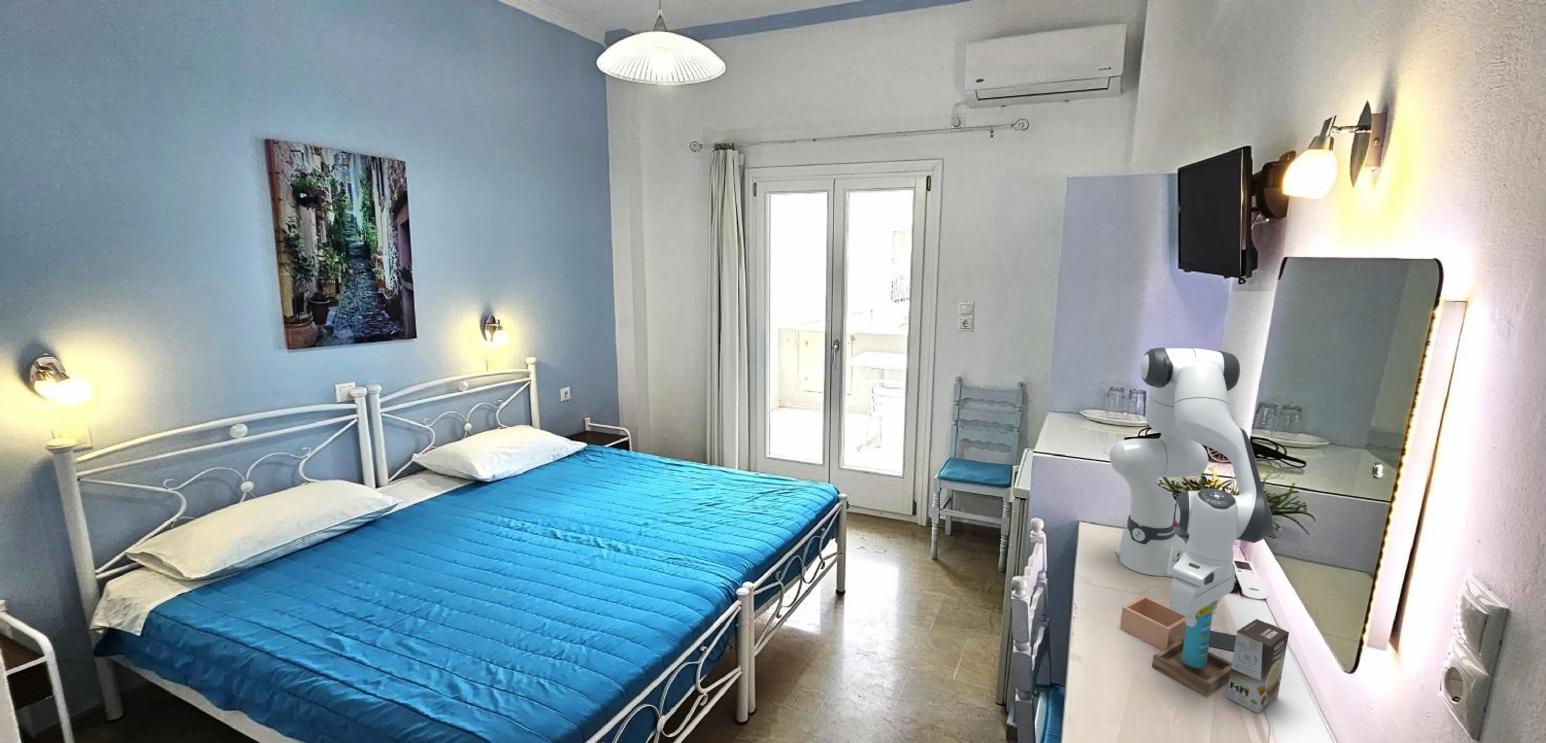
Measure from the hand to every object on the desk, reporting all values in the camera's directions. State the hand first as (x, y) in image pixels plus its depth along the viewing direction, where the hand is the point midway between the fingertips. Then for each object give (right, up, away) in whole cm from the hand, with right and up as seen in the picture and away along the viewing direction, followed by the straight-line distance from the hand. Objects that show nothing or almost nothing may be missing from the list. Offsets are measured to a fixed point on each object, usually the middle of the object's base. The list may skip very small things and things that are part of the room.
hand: (1199, 619), depth 151 cm
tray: (0, -13, +3) cm, 13 cm away
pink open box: (-1, -10, +17) cm, 20 cm away
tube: (0, -11, +2) cm, 11 cm away
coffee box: (+8, -15, -5) cm, 18 cm away
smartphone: (+15, -11, +13) cm, 23 cm away
